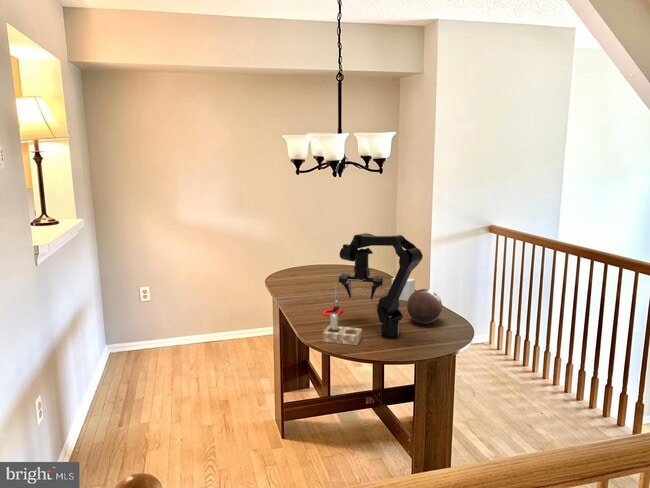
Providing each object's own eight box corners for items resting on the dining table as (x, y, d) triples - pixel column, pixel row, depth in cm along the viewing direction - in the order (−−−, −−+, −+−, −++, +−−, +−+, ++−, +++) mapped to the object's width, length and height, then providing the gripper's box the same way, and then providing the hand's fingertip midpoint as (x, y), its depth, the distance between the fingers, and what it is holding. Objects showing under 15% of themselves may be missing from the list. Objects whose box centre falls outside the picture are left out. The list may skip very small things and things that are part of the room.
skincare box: (414, 298, 245) (415, 278, 243) (409, 301, 240) (409, 281, 238) (396, 295, 251) (397, 275, 249) (390, 298, 246) (391, 278, 244)
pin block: (361, 336, 195) (361, 328, 194) (357, 345, 186) (357, 336, 186) (328, 333, 199) (328, 325, 198) (322, 341, 190) (322, 333, 189)
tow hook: (333, 319, 217) (345, 312, 224) (332, 291, 214) (344, 286, 221) (318, 315, 222) (330, 309, 229) (317, 288, 219) (329, 283, 226)
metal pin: (338, 337, 195) (338, 313, 193) (336, 340, 192) (336, 316, 190) (331, 336, 195) (331, 313, 193) (329, 339, 192) (329, 315, 191)
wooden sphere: (442, 329, 203) (444, 295, 200) (406, 327, 205) (407, 293, 202) (440, 317, 217) (441, 285, 214) (406, 316, 220) (407, 284, 217)
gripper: (386, 260, 207) (385, 295, 210) (344, 257, 212) (344, 291, 215) (382, 266, 197) (381, 302, 200) (338, 263, 202) (338, 299, 205)
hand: (361, 298), depth 205 cm, fingers open, 9 cm apart
